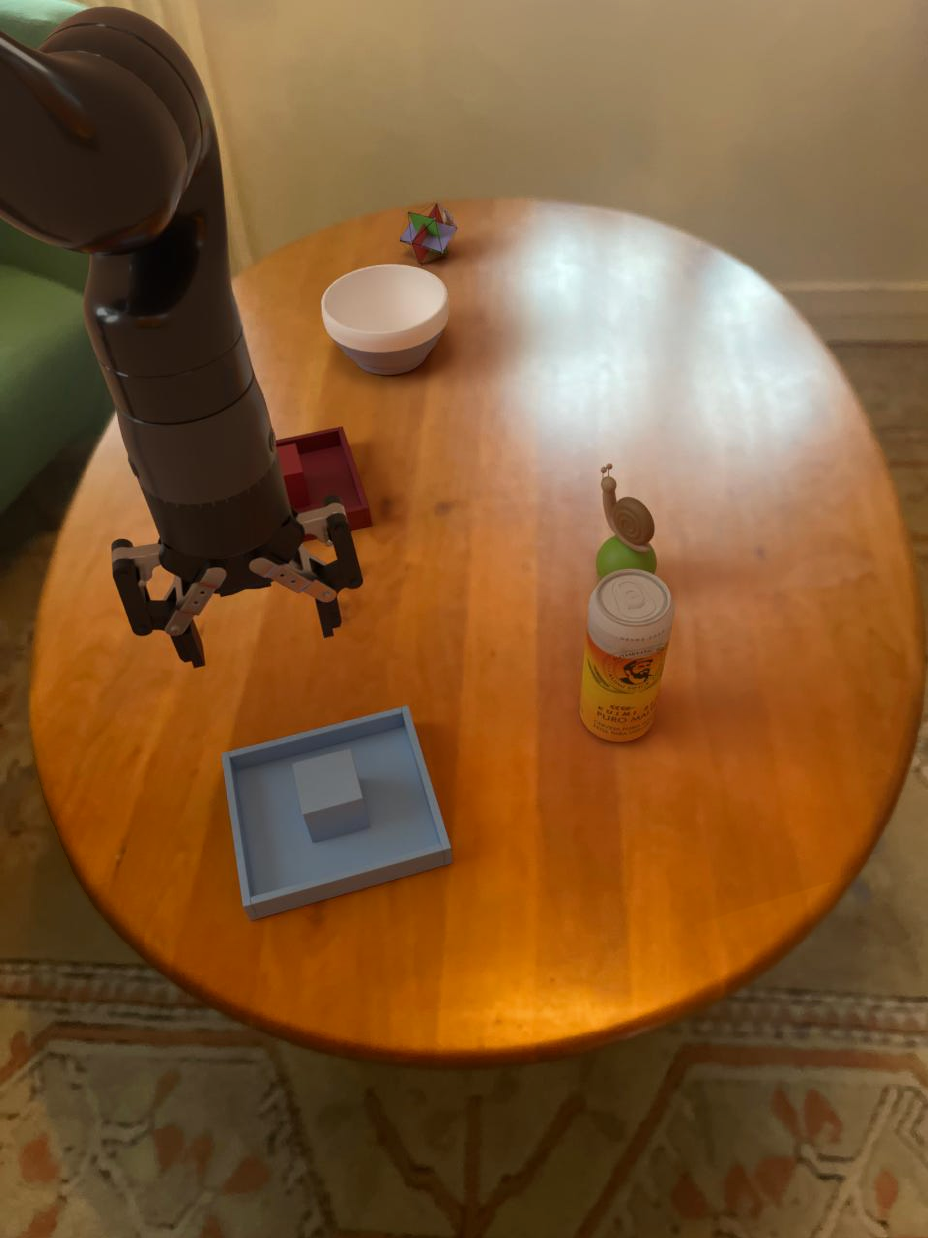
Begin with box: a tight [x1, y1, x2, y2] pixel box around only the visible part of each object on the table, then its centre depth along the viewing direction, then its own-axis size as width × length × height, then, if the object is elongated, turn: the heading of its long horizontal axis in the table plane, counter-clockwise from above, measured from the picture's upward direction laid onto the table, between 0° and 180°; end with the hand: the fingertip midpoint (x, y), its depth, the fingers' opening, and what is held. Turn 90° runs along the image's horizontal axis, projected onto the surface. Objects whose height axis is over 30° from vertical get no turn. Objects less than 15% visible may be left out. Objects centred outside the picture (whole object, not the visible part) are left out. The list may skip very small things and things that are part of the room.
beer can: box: [578, 569, 676, 743], centre depth 73 cm, size 6×6×15 cm
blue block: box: [292, 748, 370, 843], centre depth 72 cm, size 4×4×4 cm
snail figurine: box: [595, 463, 658, 581], centre depth 84 cm, size 5×6×12 cm
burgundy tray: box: [276, 425, 373, 542], centre depth 96 cm, size 15×13×2 cm
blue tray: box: [221, 704, 454, 921], centre depth 73 cm, size 15×13×2 cm
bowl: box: [320, 263, 450, 376], centre depth 110 cm, size 14×14×8 cm
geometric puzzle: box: [398, 202, 459, 266], centre depth 124 cm, size 7×7×8 cm
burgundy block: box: [277, 444, 310, 508], centre depth 95 cm, size 4×4×4 cm
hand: (263, 642), depth 63 cm, fingers open, 8 cm apart
